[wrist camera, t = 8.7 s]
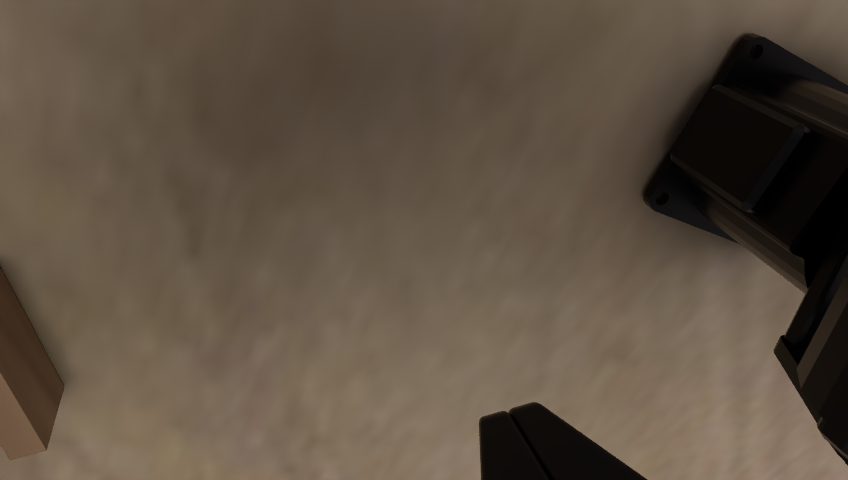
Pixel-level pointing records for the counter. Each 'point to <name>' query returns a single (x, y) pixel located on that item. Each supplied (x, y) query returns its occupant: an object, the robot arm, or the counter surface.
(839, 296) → the robot arm
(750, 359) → the counter surface
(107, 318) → the counter surface
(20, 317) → the wooden tray
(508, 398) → the counter surface
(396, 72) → the counter surface
